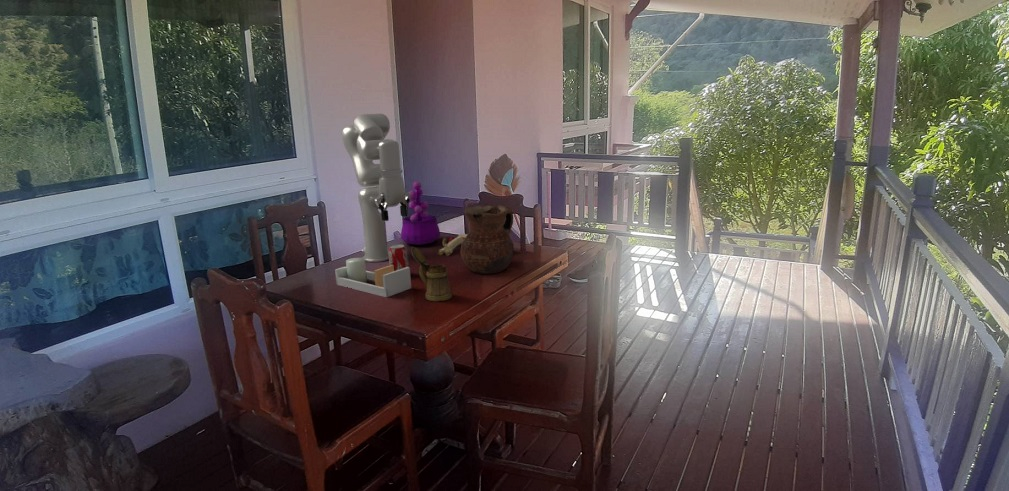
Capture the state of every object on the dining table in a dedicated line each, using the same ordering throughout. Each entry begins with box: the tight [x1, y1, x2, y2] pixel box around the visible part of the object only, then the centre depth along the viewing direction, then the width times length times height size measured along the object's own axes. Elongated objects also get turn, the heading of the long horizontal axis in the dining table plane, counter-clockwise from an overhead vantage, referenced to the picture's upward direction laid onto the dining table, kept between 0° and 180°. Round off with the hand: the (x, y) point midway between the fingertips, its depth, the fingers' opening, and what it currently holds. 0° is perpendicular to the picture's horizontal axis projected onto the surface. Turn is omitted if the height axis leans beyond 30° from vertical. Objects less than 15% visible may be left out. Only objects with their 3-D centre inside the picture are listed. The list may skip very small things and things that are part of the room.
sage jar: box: [345, 257, 368, 284], centre depth 224 cm, size 7×7×9 cm
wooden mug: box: [411, 246, 453, 302], centre depth 203 cm, size 9×14×18 cm, turn 74°
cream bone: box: [437, 233, 469, 257], centre depth 270 cm, size 10×9×25 cm
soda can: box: [388, 243, 409, 271], centre depth 231 cm, size 7×7×12 cm
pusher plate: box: [373, 265, 394, 287], centre depth 214 cm, size 1×8×8 cm, turn 143°
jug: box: [460, 204, 515, 275], centre depth 233 cm, size 22×21×25 cm
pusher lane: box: [334, 266, 412, 298], centre depth 218 cm, size 28×12×8 cm, turn 53°
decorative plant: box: [400, 181, 441, 246], centre depth 280 cm, size 19×18×30 cm
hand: (394, 218), depth 226 cm, fingers open, 9 cm apart
